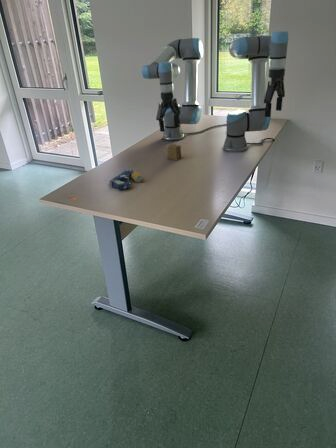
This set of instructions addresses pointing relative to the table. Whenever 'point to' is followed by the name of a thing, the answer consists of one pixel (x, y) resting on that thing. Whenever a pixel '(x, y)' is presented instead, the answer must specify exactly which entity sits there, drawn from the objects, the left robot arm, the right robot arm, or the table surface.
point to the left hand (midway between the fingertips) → (169, 128)
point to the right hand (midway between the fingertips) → (273, 113)
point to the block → (174, 151)
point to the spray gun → (124, 179)
